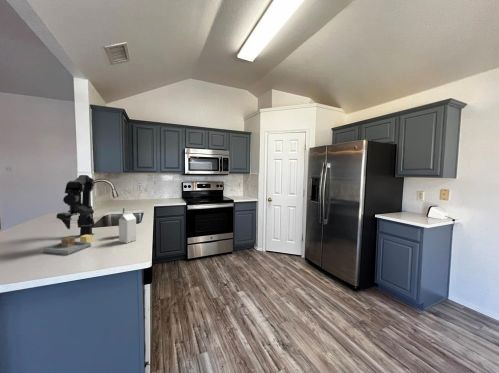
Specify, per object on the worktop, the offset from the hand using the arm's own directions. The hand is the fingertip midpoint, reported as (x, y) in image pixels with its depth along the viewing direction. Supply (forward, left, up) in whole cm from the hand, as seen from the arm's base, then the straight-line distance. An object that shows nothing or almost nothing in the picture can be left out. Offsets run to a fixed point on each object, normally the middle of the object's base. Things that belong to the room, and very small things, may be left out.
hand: (76, 227), depth 133 cm
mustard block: (-5, +2, -11) cm, 13 cm away
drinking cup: (-22, +15, -11) cm, 29 cm away
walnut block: (+4, -1, -10) cm, 11 cm away
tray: (+8, +3, -11) cm, 14 cm away
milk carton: (-13, +25, -11) cm, 30 cm away
